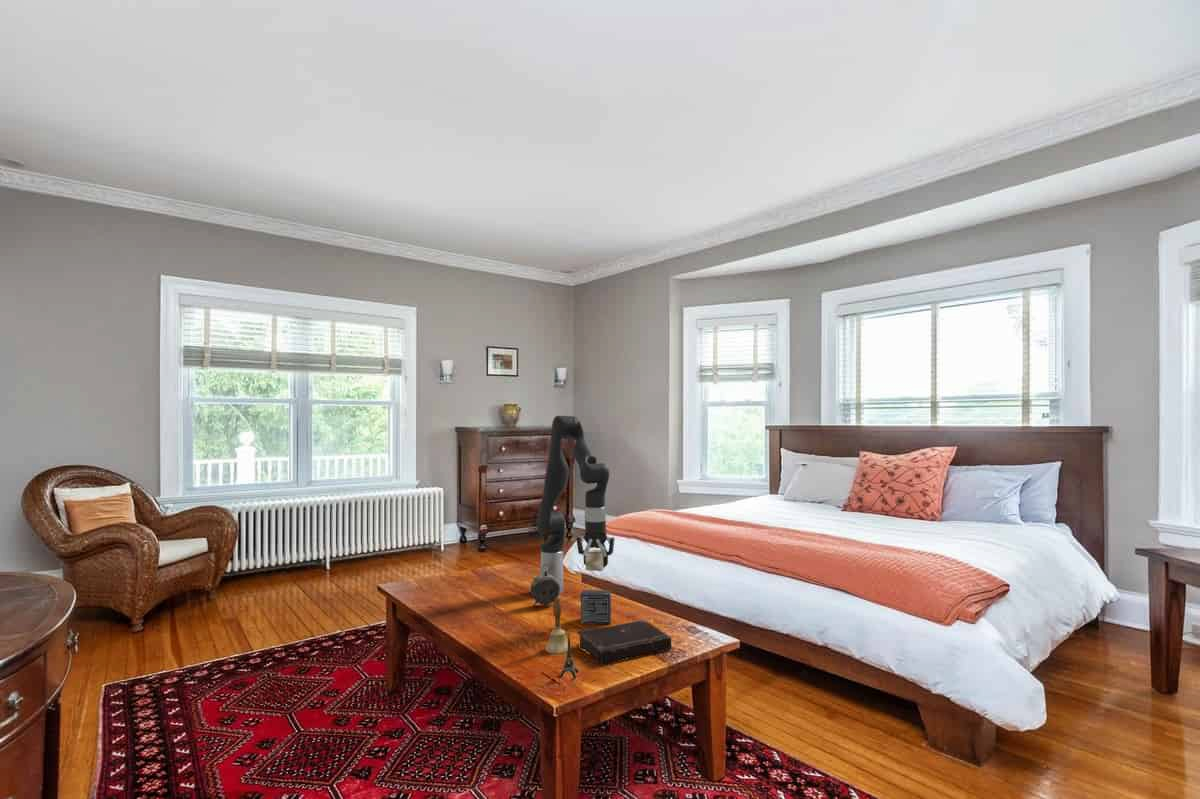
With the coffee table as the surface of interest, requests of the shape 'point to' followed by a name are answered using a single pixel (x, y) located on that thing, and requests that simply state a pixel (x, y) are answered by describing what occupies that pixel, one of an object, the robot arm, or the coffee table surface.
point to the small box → (596, 606)
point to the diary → (623, 641)
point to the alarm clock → (545, 588)
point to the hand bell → (557, 633)
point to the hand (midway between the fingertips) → (595, 565)
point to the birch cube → (594, 560)
